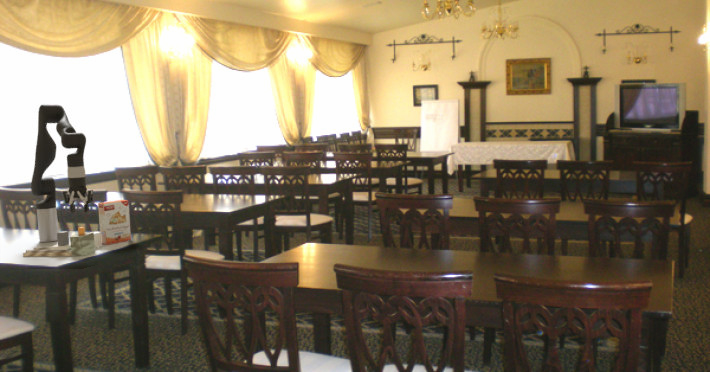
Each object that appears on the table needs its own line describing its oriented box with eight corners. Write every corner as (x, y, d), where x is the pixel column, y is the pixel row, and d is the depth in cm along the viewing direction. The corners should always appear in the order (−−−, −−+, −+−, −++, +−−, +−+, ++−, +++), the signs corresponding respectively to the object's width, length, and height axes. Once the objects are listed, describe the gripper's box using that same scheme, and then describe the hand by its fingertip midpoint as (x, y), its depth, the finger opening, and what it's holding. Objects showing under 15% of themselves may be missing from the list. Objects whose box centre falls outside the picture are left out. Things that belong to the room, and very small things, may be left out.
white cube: (97, 244, 322) (96, 230, 321) (105, 245, 317) (104, 231, 317) (84, 246, 316) (83, 233, 316) (92, 248, 312) (90, 234, 311)
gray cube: (50, 250, 298) (48, 234, 297) (61, 245, 306) (60, 230, 306) (66, 249, 297) (65, 233, 296) (77, 245, 305) (75, 230, 305)
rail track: (23, 256, 299) (21, 237, 298) (36, 251, 309) (34, 233, 308) (83, 255, 295) (82, 236, 294) (95, 251, 305) (93, 232, 304)
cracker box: (107, 245, 319) (103, 203, 316) (100, 244, 322) (96, 202, 320) (131, 240, 330) (128, 199, 327) (125, 239, 333) (122, 199, 331)
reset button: (81, 237, 301) (80, 227, 301) (86, 237, 301) (85, 227, 301) (77, 238, 299) (76, 228, 298) (83, 238, 298) (82, 228, 298)
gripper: (95, 175, 299) (98, 210, 301) (66, 175, 301) (69, 211, 303) (87, 176, 292) (90, 213, 294) (57, 177, 294) (60, 213, 296)
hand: (79, 212), depth 298 cm, fingers open, 5 cm apart
